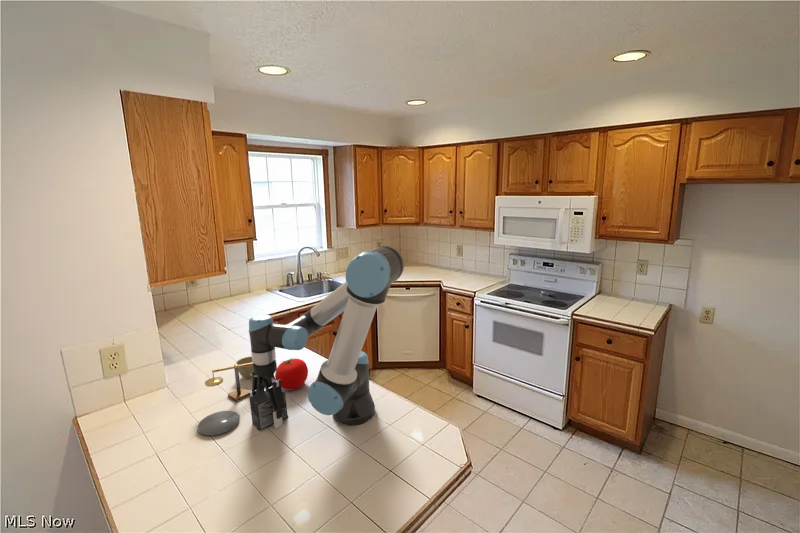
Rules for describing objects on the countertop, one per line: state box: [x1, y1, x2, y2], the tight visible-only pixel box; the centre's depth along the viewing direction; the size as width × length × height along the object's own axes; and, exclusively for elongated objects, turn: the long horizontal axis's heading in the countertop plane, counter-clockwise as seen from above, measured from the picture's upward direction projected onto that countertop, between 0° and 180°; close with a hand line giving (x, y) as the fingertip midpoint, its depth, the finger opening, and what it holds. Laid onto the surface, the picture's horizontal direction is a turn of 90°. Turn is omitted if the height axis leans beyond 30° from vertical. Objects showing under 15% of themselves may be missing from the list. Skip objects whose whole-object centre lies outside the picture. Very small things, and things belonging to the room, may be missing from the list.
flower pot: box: [235, 356, 253, 381], centre depth 163 cm, size 10×10×7 cm
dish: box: [197, 410, 241, 437], centre depth 130 cm, size 13×13×1 cm
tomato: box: [274, 357, 309, 391], centre depth 154 cm, size 12×14×11 cm
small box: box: [248, 388, 289, 432], centre depth 131 cm, size 11×6×10 cm, turn 134°
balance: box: [204, 362, 253, 403], centre depth 147 cm, size 6×24×15 cm, turn 142°
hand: (270, 420), depth 132 cm, fingers open, 9 cm apart
